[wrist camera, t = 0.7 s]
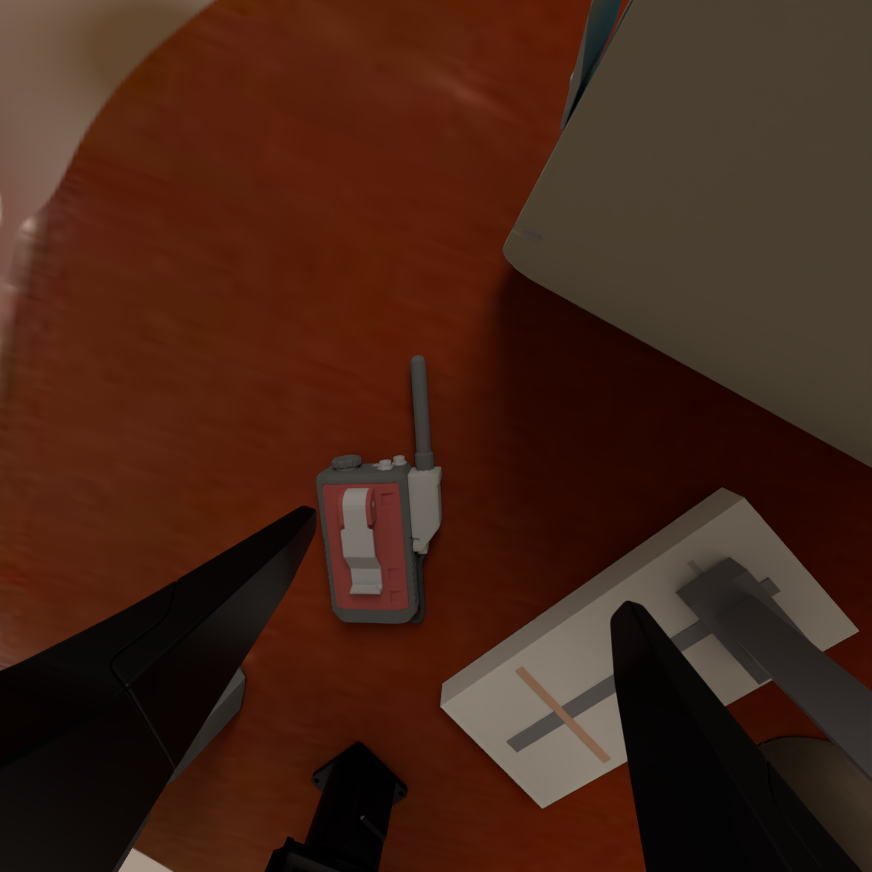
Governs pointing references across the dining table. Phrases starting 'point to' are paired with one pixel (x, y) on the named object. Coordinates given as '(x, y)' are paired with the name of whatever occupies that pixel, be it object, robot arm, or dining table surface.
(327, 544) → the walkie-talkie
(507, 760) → the fader console
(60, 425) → the dining table surface
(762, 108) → the radio
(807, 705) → the fader handle
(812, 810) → the pillar candle
